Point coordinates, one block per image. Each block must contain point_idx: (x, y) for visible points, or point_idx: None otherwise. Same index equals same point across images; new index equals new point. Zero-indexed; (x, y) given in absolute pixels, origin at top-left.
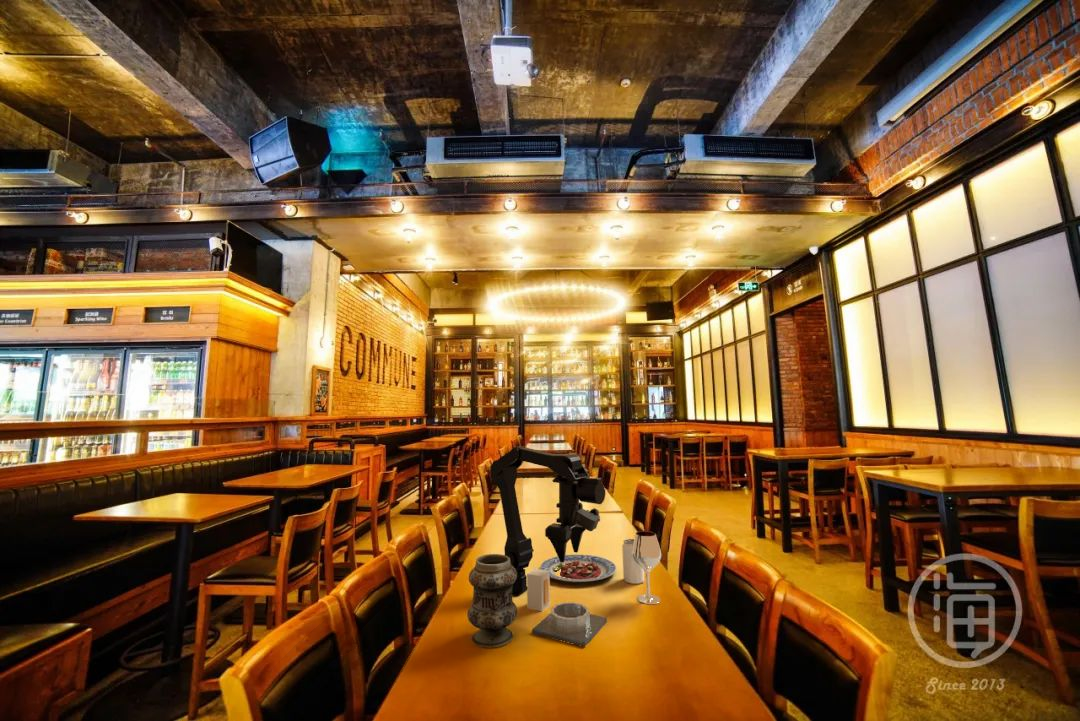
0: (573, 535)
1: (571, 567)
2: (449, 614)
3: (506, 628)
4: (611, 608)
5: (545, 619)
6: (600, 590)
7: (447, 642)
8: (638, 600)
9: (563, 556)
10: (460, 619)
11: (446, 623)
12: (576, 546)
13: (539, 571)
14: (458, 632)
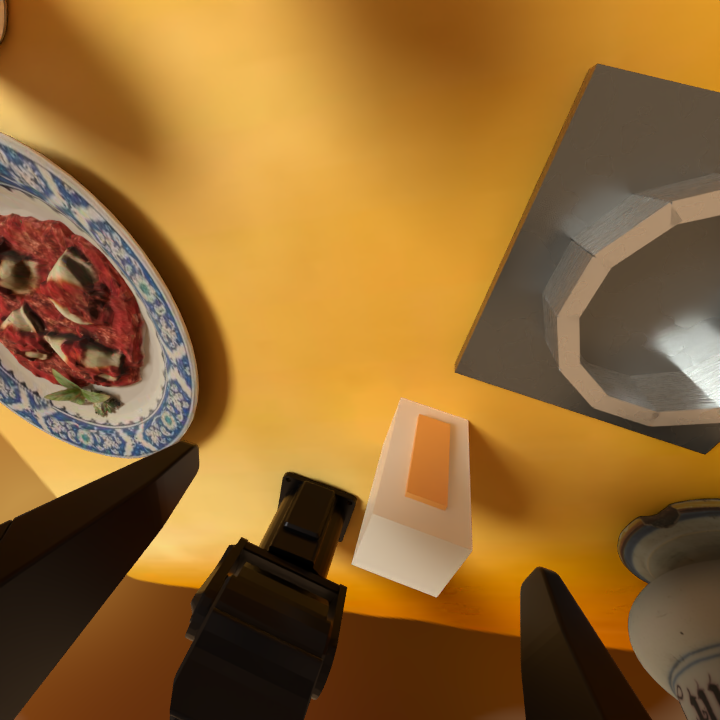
0: (11, 667)
1: (74, 356)
2: (510, 626)
3: (672, 528)
4: (384, 72)
5: (600, 411)
6: (179, 188)
7: None
8: None
9: (609, 663)
10: None
11: None
12: (150, 500)
13: (390, 552)
14: None
